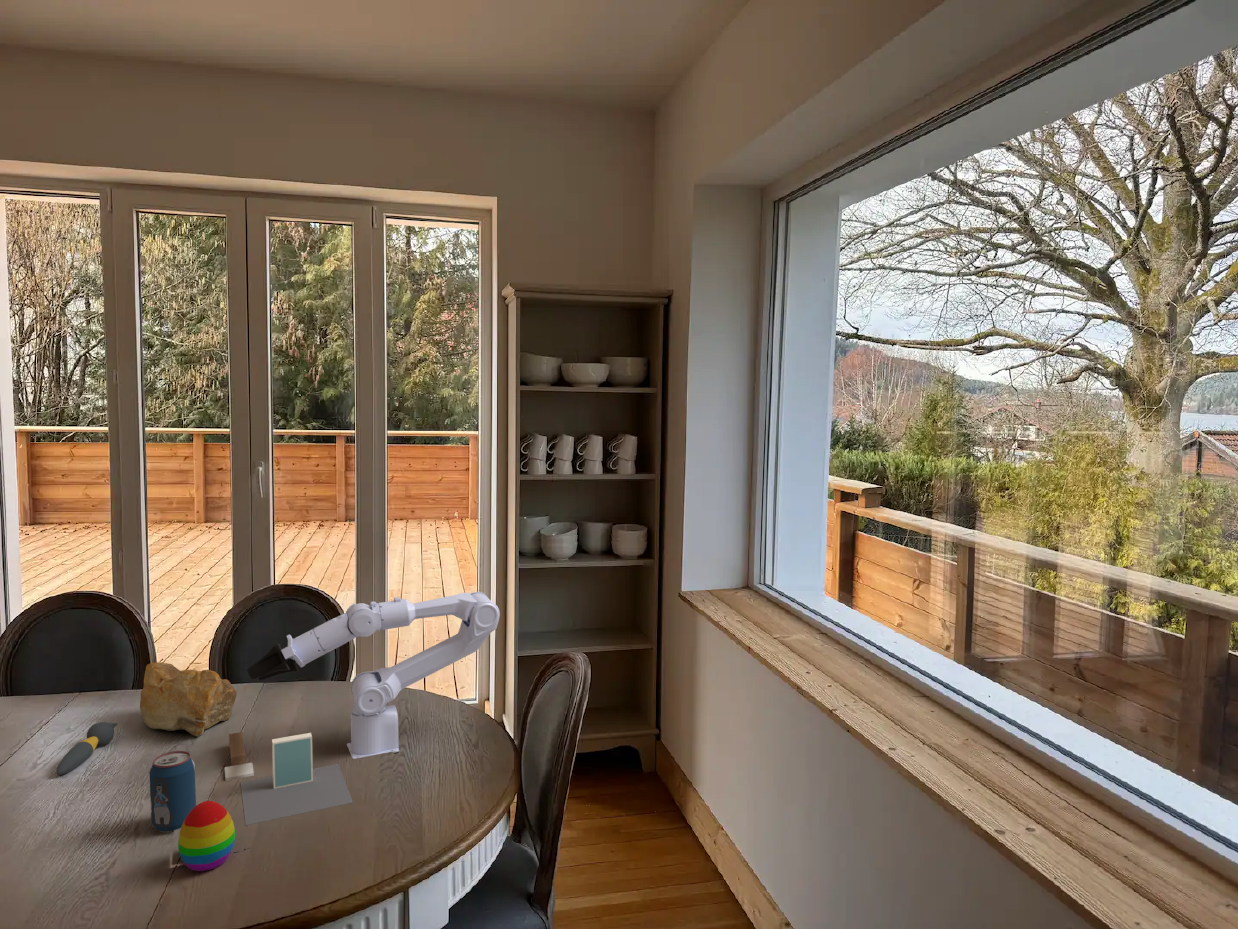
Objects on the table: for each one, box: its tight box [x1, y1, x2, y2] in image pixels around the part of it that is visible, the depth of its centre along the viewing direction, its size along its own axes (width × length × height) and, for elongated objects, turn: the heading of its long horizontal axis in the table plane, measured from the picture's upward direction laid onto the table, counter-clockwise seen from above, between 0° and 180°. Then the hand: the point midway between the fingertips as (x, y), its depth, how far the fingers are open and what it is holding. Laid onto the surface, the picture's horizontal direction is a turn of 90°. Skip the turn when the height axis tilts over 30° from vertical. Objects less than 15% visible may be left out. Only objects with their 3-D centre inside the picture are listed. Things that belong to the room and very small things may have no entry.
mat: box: [240, 763, 354, 826], centre depth 154 cm, size 18×17×1 cm
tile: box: [271, 732, 314, 789], centre depth 157 cm, size 7×2×9 cm, turn 118°
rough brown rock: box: [139, 661, 238, 737], centre depth 184 cm, size 23×16×15 cm
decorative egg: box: [177, 800, 236, 872], centre depth 132 cm, size 8×8×10 cm
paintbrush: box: [55, 721, 118, 776], centre depth 168 cm, size 20×5×5 cm, turn 9°
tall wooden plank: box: [224, 731, 255, 782], centre depth 166 cm, size 5×17×3 cm, turn 27°
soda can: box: [148, 750, 197, 834], centre depth 142 cm, size 7×7×12 cm
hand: (253, 675), depth 162 cm, fingers open, 7 cm apart
